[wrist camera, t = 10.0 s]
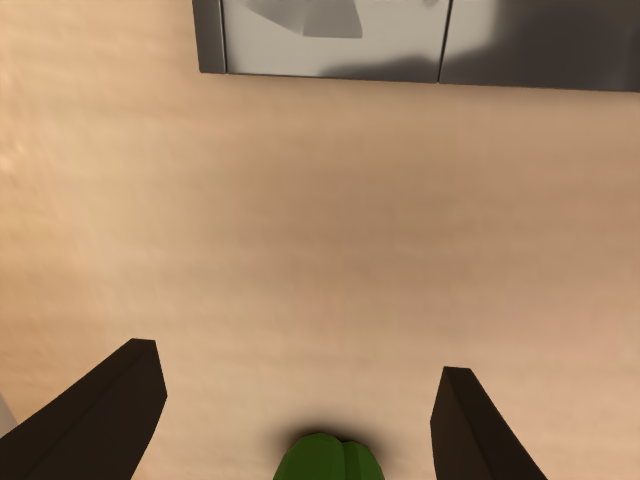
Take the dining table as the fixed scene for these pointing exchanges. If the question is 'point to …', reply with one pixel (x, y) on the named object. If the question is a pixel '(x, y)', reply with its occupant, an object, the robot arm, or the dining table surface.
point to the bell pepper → (328, 460)
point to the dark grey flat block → (426, 41)
